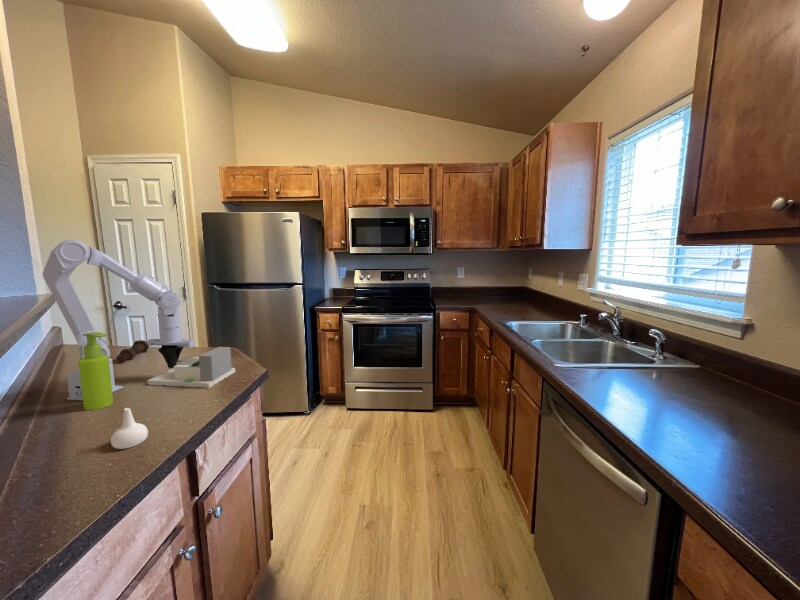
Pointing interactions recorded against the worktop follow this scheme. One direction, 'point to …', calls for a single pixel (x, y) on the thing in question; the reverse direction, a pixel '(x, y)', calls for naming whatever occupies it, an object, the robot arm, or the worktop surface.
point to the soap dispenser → (95, 375)
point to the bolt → (132, 351)
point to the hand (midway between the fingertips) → (172, 367)
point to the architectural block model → (199, 371)
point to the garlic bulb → (129, 432)
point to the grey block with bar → (189, 361)
